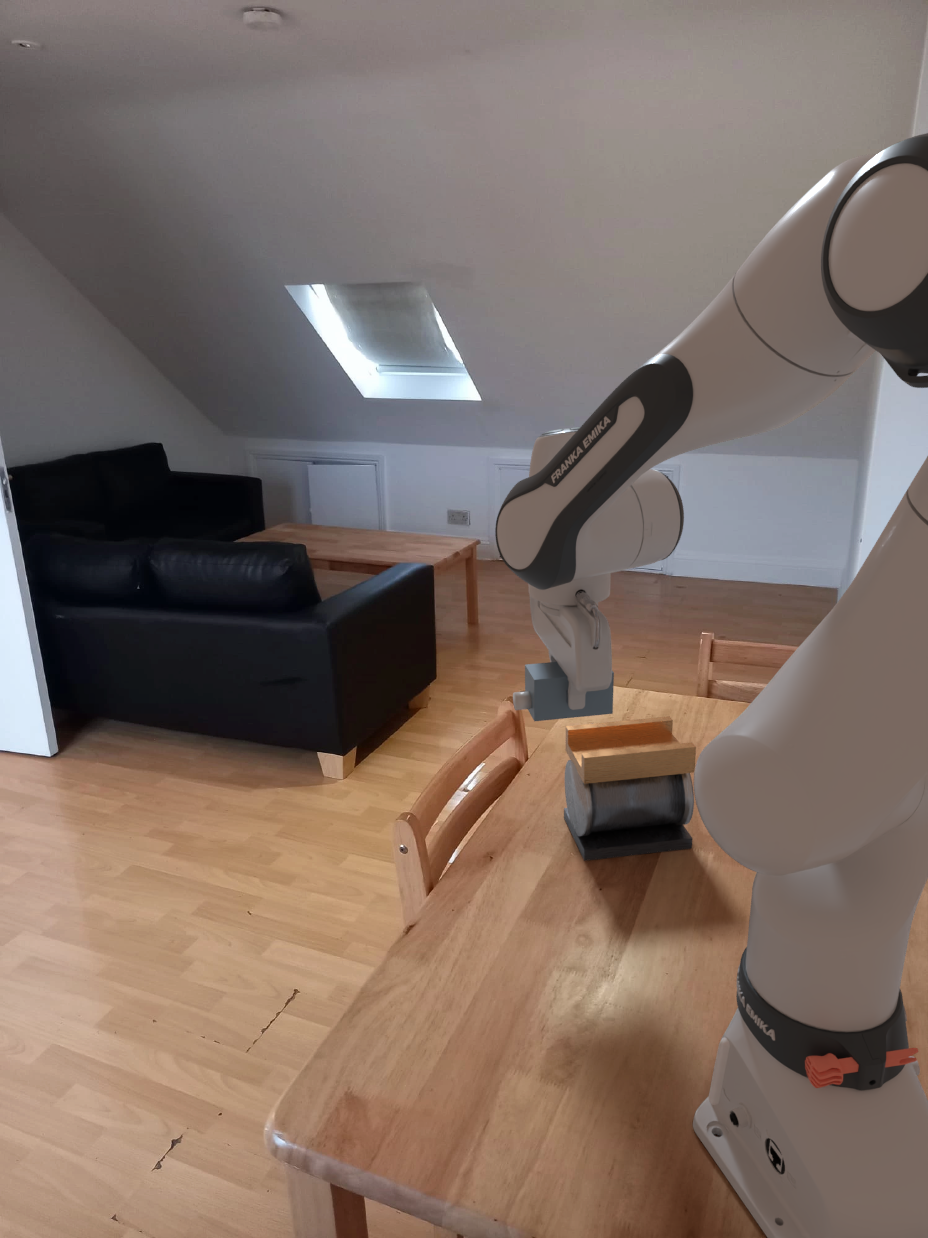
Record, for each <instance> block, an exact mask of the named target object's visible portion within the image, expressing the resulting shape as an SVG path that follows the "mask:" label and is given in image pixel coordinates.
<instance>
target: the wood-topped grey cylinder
mask: <svg viewBox="0 0 928 1238" xmlns="http://www.w3.org/2000/svg"><path fill="white" fill-rule="evenodd" d="M673 720H674V719H673V718H672V717H670V716H661V717H659V716H658V717H649V718H648V717H647V718H639V719H637V718H636V719H627V720H618V721H607V722H605V721H604V722H595V723H584V724H573V725H565V752H566V754H567V756H568V758H569V760H567V761H566V764H565V767H564V768H565V769H564V794H565V802H566V807H564V809H563V818H564V821H565V823H566V825H567V827H568V829H569V831H570V832H569V833H570V834H571V836H572V838H573V840H574V842H575V844H576V846H577V848H578V851H579V853H580V855H581V857H582V859H583V861H585V862H587V861H596V860H603V859H604V860H605V859H612V858H620V857H627V856H628V857H630V856H638V855H645V854H646V855H647V854H655V853H663V852H664V853H665V852H673V851H681V850H689V849H690V850H691V849H692V848H693V837H692V835H691V834H690V832H689V831H688V830H687V829H686V827H685V825H688V824H689V823H690V822H691V820H692V818H693V815H694V809H695V808H694V807H695V795H694V784H693V780H692V776H691V774H694V770H695V766H696V753H697V746H696V745H695V744H694V743H693V742H684V743H683V742H682V743H681V742H679V741H678V739H677V738H676V737H675V735H673V727H674V725H673V723H674V721H673Z"/></svg>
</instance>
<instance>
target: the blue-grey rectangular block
mask: <svg viewBox="0 0 928 1238" xmlns="http://www.w3.org/2000/svg"><path fill="white" fill-rule="evenodd" d="M614 681H615V673H614V671H613V670H612V680H611V683H610V686H609V687H608V688H607V689H604V690H597V691H587V692H586V694H585V707H584V708H582V709H575V710H572V709H570V708H569V706H568V704H567V703H566V690H568V687H569V681H568V677H567V675H566V674H565V673H564V671H563V670H562V668H561V667H560V665H559V664H558V663H557V662H550V661H549V662H539V663H529V664H528V663H527V664H524V685H525V686H524V691H515V692H513V693H512V702H513V703H512V704H513V708H514V711H523V710H527V711H528V712H529V714H530V716H531V717H532V720H533V722H541V721H551V720H553V721H554V720H561V719H562V720H563V719H571V718H573V719H574V718H581V717H593V716H603V715H613V713H614V684H615V682H614Z"/></svg>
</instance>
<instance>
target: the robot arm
mask: <svg viewBox="0 0 928 1238" xmlns="http://www.w3.org/2000/svg"><path fill="white" fill-rule="evenodd" d="M875 352H877V353H879V354H880V355H881V357H883V359H884V361H886V362H887V364H888V366H889V368H891V369H892V370H893V372H894V373H895V375H897V377H898V378H899V379H900V380H901V381H903V382H904V383H905V384H907V385H908V386H909V387H912V388H917V389H926V388H927V389H928V375H919V374H928V132H926V133H922V134H919V135H915V136H911V137H909V138H906V139H904V140H901V141H898V142H896V143H894V144H891V145H890V146H888V147H886V148H884V149H883V150H882V151H880V152H879V153H876V154H875V153H874V154H873V153H872V154H871V153H869V154H863V155H858V156H856V157H855V156H854V157H853V158H849V159H847V160H845V161H843V162H841V163H840V164H837V165H836V166H835V167H833V168H832V169H831V170H830V171H828V172H827V173H826V174H825V175H824V176H823V177H822V178H821V179H819V180H818V182H816V183H814V185H813V186H812V187H811V188H809V190H808V191H806V193H805V194H804V195H803V196H801V198H800V199H798V200H797V201H796V202H795V203H794V205H792V206H791V208H789V210H787V212H785V213H784V215H782V217H781V218H780V219H779V220H778V221H777V222H776V223H775V225H773V227H771V229H770V230H769V231H768V232H767V233H766V234H765V236H764V237H763V238H762V240H760V241H759V243H758V244H757V245H756V246H755V247H754V249H753V250H752V251H751V252H750V254H749V255H748V257H747V258H746V259H745V260H744V261H743V263H742V264H741V266H739V268H738V270H736V272H735V273H734V274H733V275H732V277H731V278H730V279H729V281H728V282H727V283H726V284H725V285H724V287H723V288H722V290H720V292H719V293H718V294H717V295H716V296H715V297H714V299H713V300H711V302H710V303H709V304H708V305H707V306H706V308H704V309H703V310H702V312H700V313H699V315H697V317H695V319H694V320H693V321H691V323H690V324H688V326H686V327H685V328H684V329H683V330H682V331H681V332H680V333H679V334H678V335H677V336H676V337H674V339H673V340H671V341H670V342H668V343H667V345H666V346H664V347H663V348H661V350H659V351H658V352H657V353H656V354H654V355H653V356H652V357H651V358H649V359H647V360H646V361H645V362H644V363H643V364H642V365H641V366H639V367H638V368H637V369H636V370H634V371H633V372H632V373H631V374H630V375H628V376H627V377H626V378H625V379H624V380H623V381H622V382H621V383H620V384H619V385H618V386H616V388H615V389H613V391H612V392H611V393H610V394H609V395H608V396H607V397H606V398H604V401H602V403H601V404H600V405H599V406H598V407H597V408H596V409H595V410H594V411H593V413H591V415H590V416H589V417H588V418H587V419H586V420H585V421H584V423H583V424H582V425H581V426H578V427H577V426H576V427H570V428H560V429H553V430H548V431H546V432H544V433H542V434H541V435H540V436H538V437H537V438H536V439H535V441H534V444H533V448H532V452H531V458H530V462H529V471H528V472H529V473H528V477H526V478H523V479H521V480H519V481H517V482H516V483H515V485H513V487H512V488H511V489H510V491H509V492H508V494H507V495H506V497H505V498H504V500H503V502H502V504H501V506H500V509H499V511H498V513H497V517H496V521H495V528H494V529H495V531H494V532H495V533H494V535H495V543H496V547H497V550H498V553H499V554H498V555H499V556H500V558H501V559H502V561H503V563H504V565H505V566H507V568H508V569H509V570H510V571H511V572H512V573H513V574H515V575H516V576H517V577H518V578H519V579H521V580H522V581H523V582H525V583H527V586H528V596H529V609H530V617H531V623H532V627H533V630H534V632H535V633H536V634H537V636H538V637H539V639H540V641H542V643H543V644H544V646H545V647H546V649H547V651H548V658H549V662H557V663H558V664H559V665H560V667H561V668H562V670H563V671H564V673H565V674H566V675H567V677H568V681H569V687H568V690H566V703H567V704H568V706H569V708H570V709H572V710H575V709H582V708H584V707H585V694H586V692H587V691H597V690H604V689H607V688H608V687H609V686H610V683H611V680H612V671H613V658H612V657H613V655H612V653H613V652H612V650H613V649H612V634H611V633H612V632H611V627H610V622H609V620H608V618H607V616H606V615H605V614H604V612H602V611H601V610H600V609H599V603H600V602H603V601H605V600H607V598H609V597H610V595H611V585H612V584H611V580H612V579H611V578H612V575H611V574H613V573H617V572H622V571H625V570H630V569H634V568H640V567H644V566H649V565H652V564H655V563H657V562H659V561H663V560H667V558H668V557H670V556H671V555H672V554H673V552H674V551H675V550H676V548H677V546H678V544H679V543H680V540H681V538H682V534H683V530H684V522H685V513H684V504H683V500H682V496H681V494H680V492H679V489H678V488H677V486H676V484H675V483H674V482H673V481H672V480H671V479H670V478H669V476H667V474H665V473H663V472H662V471H660V470H658V469H654V467H656V466H657V465H659V464H661V463H663V462H666V461H667V460H670V459H672V458H675V457H677V456H679V455H683V454H685V453H688V452H692V451H696V450H698V449H701V448H705V447H708V446H712V445H716V444H720V443H725V442H729V441H733V440H736V439H737V440H738V439H741V438H742V439H743V438H746V437H751V436H754V435H755V436H756V435H758V434H763V433H768V432H770V431H774V430H777V429H779V428H782V427H784V426H787V425H788V424H791V423H792V422H793V421H795V420H796V419H798V418H800V417H801V416H803V415H805V414H806V413H808V412H809V411H811V410H812V409H813V408H815V407H817V406H818V405H819V404H821V403H822V402H823V401H825V400H826V399H828V398H829V397H830V396H831V395H832V394H834V393H835V392H836V391H837V390H838V389H839V388H840V387H841V386H843V384H844V383H845V382H846V381H847V380H848V379H849V378H850V377H851V376H853V374H854V373H855V372H857V370H859V369H860V367H862V365H864V363H865V362H866V361H867V360H868V359H870V357H871V356H872V355H873V354H874V353H875ZM880 533H881V534H880V535H879V537H878V538H877V540H876V542H875V543H874V545H873V547H872V549H871V550H870V552H869V554H868V555H867V557H866V558H865V560H864V562H863V564H862V565H861V567H860V569H859V570H858V572H857V574H856V575H855V577H854V579H852V581H851V582H850V584H849V586H848V587H847V589H846V590H845V591H844V593H843V594H842V595H841V596H840V598H839V600H838V601H837V603H835V605H834V606H833V607H832V608H831V610H830V611H829V612H828V614H826V615H825V617H824V618H823V619H822V620H821V622H820V623H819V624H818V625H817V626H816V627H815V628H814V629H813V630H812V632H811V633H810V634H809V635H808V636H807V637H806V638H805V639H804V641H803V642H802V643H800V645H799V646H798V647H797V648H796V650H795V651H794V652H793V653H792V654H791V656H790V657H788V658H787V660H786V661H785V662H784V664H783V665H782V666H781V667H780V668H779V670H778V671H777V672H776V673H775V675H774V676H773V677H772V678H771V680H770V681H769V682H768V683H767V684H766V686H764V688H763V689H762V690H761V691H760V692H759V694H758V695H757V696H756V697H755V698H754V700H753V701H752V702H751V703H750V704H749V705H748V706H747V707H746V708H745V710H743V712H742V713H740V715H739V716H737V717H736V718H735V719H734V720H733V721H732V722H731V723H730V724H729V725H728V726H727V727H725V729H723V730H722V731H721V732H720V733H719V734H718V735H716V736H715V737H714V738H713V739H711V741H710V742H708V744H707V745H706V746H705V747H704V748H703V749H702V750H701V752H700V754H699V755H698V758H697V759H696V761H695V770H694V773H693V792H694V801H695V805H696V807H697V812H698V814H699V817H700V819H701V822H702V823H703V825H704V827H705V829H706V830H707V832H708V833H709V835H710V836H711V838H712V839H713V841H714V842H715V843H716V844H717V845H718V847H720V849H721V850H722V851H723V852H724V853H725V854H727V855H728V856H729V857H731V859H733V860H734V861H735V862H737V863H738V864H739V865H741V866H743V867H744V868H746V869H748V870H750V871H752V872H755V873H756V874H754V879H753V882H752V888H751V899H750V911H749V921H748V931H747V933H748V934H747V942H746V943H747V944H746V947H745V949H744V950H743V952H742V955H741V956H740V957H741V958H740V962H739V965H738V968H737V971H736V972H737V974H736V981H735V982H736V1005H737V1009H736V1010H735V1013H734V1015H733V1017H732V1019H731V1020H730V1022H729V1024H728V1026H727V1028H726V1030H725V1031H724V1032H723V1035H722V1036H721V1039H720V1040H719V1043H718V1048H717V1051H716V1058H715V1062H714V1067H713V1072H712V1077H711V1083H710V1088H709V1093H708V1096H707V1097H706V1098H705V1099H704V1100H703V1101H702V1102H701V1103H700V1105H699V1106H698V1107H697V1109H696V1111H695V1113H694V1117H693V1122H692V1128H693V1130H694V1132H695V1133H694V1134H696V1136H697V1137H698V1138H699V1140H700V1142H702V1144H703V1146H704V1147H705V1149H706V1150H707V1152H708V1153H709V1154H710V1156H711V1158H712V1159H713V1161H714V1162H715V1164H717V1166H718V1168H719V1169H720V1171H721V1172H722V1173H723V1175H724V1177H725V1178H726V1179H727V1181H728V1182H729V1184H730V1185H731V1187H732V1188H733V1190H734V1191H735V1192H736V1193H737V1195H738V1197H739V1198H740V1200H741V1201H742V1203H743V1204H744V1205H745V1207H746V1208H747V1210H748V1211H749V1213H750V1215H751V1216H752V1217H753V1219H754V1220H755V1222H756V1223H757V1224H758V1226H759V1227H760V1230H761V1231H762V1232H763V1233H764V1235H765V1236H766V1237H767V1238H928V1098H927V1095H926V1093H925V1090H924V1088H923V1086H922V1084H921V1081H920V1079H919V1075H920V1072H921V1068H920V1065H919V1061H918V1058H916V1057H915V1056H914V1055H915V1054H917V1053H919V1049H918V1048H917V1047H910V1046H909V1037H908V1030H907V1022H908V1020H907V1019H908V1018H907V1012H906V1011H907V1010H906V1007H905V1004H904V999H903V992H902V990H901V983H902V976H903V971H904V966H905V960H906V954H907V951H908V950H907V949H908V944H909V938H910V933H911V929H912V923H913V920H914V916H915V913H916V909H917V907H918V903H919V901H920V898H921V896H922V893H923V890H924V888H925V887H926V886H925V885H926V883H927V881H928V455H927V456H926V458H925V460H924V461H923V463H922V464H921V467H920V468H919V470H918V471H917V473H916V474H915V476H914V478H913V479H912V481H911V482H910V484H909V486H908V487H907V489H906V491H905V493H904V495H903V496H902V498H901V500H900V502H898V505H897V507H896V508H895V510H894V511H893V513H892V515H891V517H890V518H889V520H888V522H887V524H886V525H885V526H884V528H883V530H882V532H880ZM909 1047H910V1048H909ZM716 1135H717V1136H716Z"/></svg>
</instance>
